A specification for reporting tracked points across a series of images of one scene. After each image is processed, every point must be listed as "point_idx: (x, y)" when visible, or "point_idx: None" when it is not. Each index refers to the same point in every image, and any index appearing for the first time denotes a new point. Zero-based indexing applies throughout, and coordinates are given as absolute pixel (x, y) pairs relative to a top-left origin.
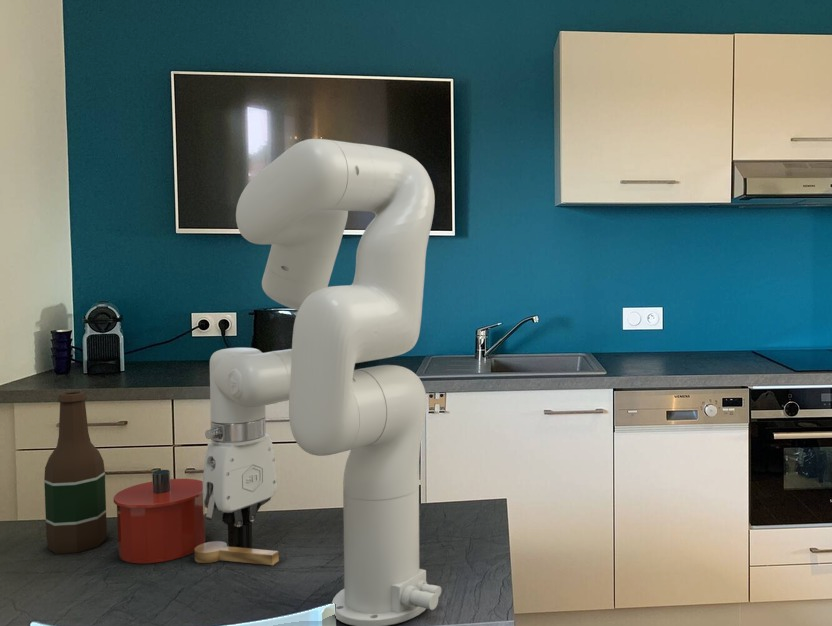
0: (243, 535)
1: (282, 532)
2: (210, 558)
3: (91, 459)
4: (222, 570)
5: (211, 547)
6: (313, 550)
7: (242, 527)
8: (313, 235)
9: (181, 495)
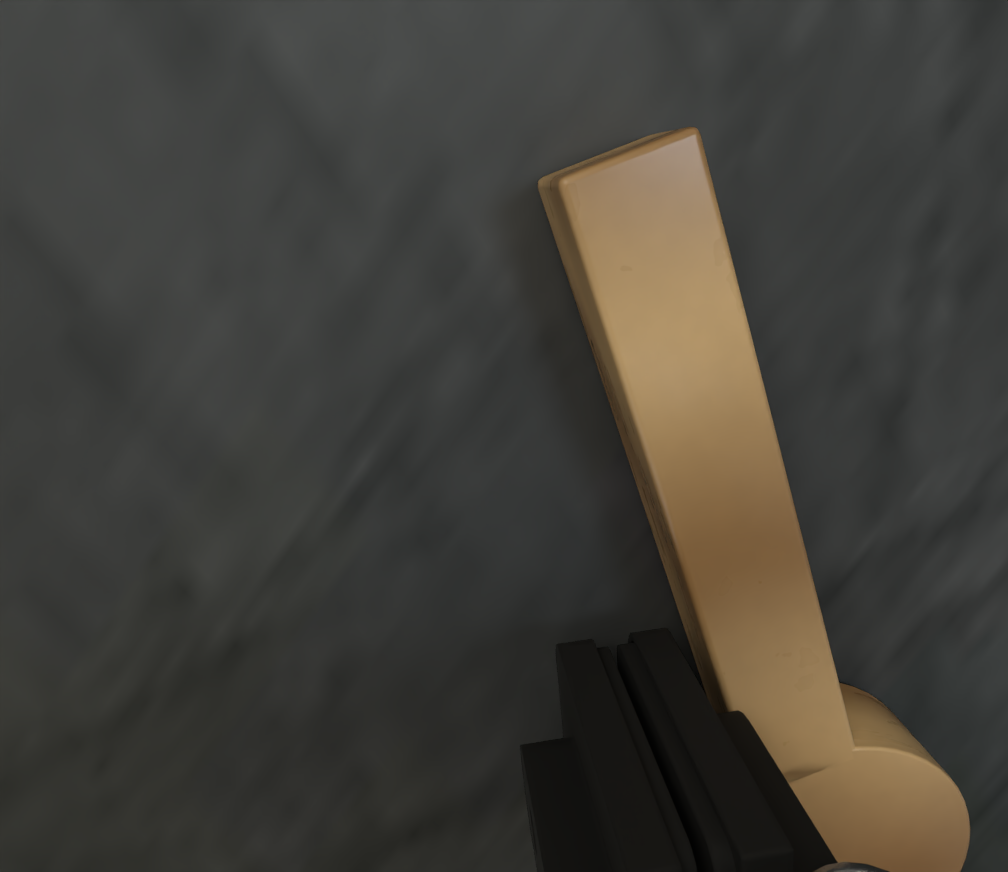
0: (730, 743)
1: (36, 829)
2: (893, 718)
3: None
4: (945, 473)
5: (843, 850)
6: (55, 100)
7: (788, 843)
8: None
9: None
